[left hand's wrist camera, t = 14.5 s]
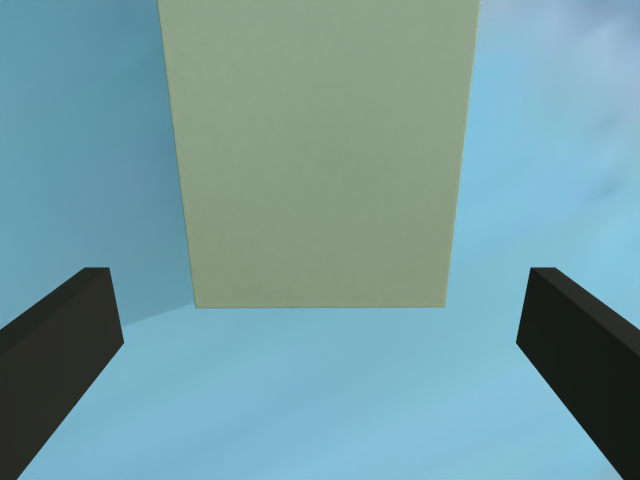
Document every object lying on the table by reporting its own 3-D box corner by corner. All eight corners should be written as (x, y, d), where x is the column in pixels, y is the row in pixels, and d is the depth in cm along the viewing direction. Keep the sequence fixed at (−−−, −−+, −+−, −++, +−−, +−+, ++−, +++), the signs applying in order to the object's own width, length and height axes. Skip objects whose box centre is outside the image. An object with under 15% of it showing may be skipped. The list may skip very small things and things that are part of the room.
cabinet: (209, -123, 21) (118, -303, 12) (427, -124, 21) (517, -305, 12) (237, 235, 28) (195, 308, 18) (402, 234, 28) (445, 307, 18)
